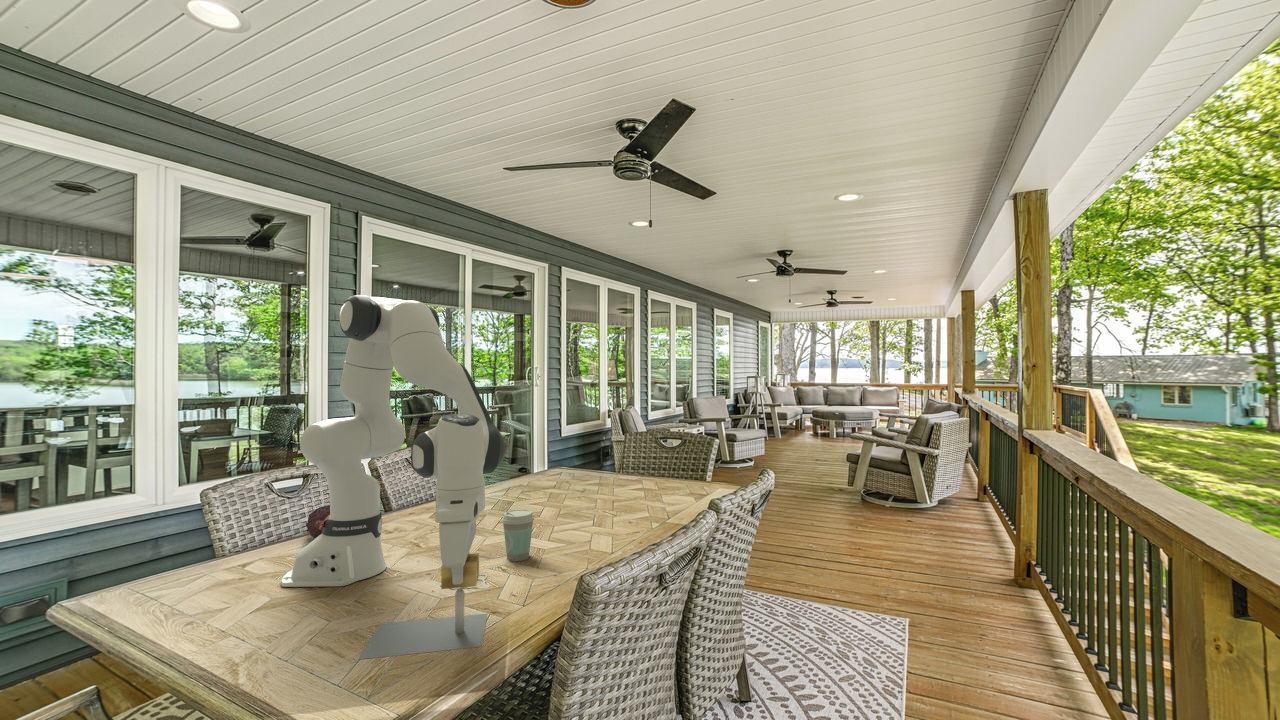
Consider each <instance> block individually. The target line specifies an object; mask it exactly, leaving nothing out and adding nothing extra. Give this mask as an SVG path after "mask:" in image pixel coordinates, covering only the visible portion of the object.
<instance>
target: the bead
mask: <svg viewBox="0 0 1280 720" xmlns="http://www.w3.org/2000/svg"><path fill="white" fill-rule="evenodd" d="M463 571H464V580H463V583H462V584H456V585H454V584H453V583H452V571H451V568H444V567H443V565H442V564H441V570H440V573H441V575H440V576H441V581H440V582H441V584H440V585H441V587H440V590H446V589H447V590H448V589H449V590H451V589H450V588H461V587H476V586H477V584H478V581H479V580H478V578H479V577H480V576H479V574H480V553H477V552H475V553H469V554H468V556H467V559H466V562H465V565H464V567H463Z"/></svg>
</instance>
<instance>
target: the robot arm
mask: <svg viewBox="0 0 1280 720" xmlns="http://www.w3.org/2000/svg"><path fill="white" fill-rule="evenodd" d="M339 327H340V329H341V332H342V333H343V334H344V336H345V337H347V338H349V342H348V345H347V349H346V352H345V355H344V356H345V357H344V363H343V367H342V374H341V378H340V379H341V380H340V384H339V385H340V386H339V390H340V393H341V395H342V396H343V397H344V399H346V400H347V401H348V402H350V403H351V404H353V405H354V410H355V411H354V416H351V417H339V418H330V419H329V418H328V419H325V420H321V421H318V422H316V423H312V424H310V425H308V426H307V427H306V428H305V429H304V431H303V432H302V434H301V437H300V441H299V442H300V444H299V447H300V452H301V454H302V455H303V458H305V459H306V460H307V461H308V463H311V464H312V465H314V466H316V467H317V468H318V469H319V470H320V472H321V473H322V474H323V476H324V478H325V480H326V482H327V485H328V490H329V505H330V515H329V516H328V517H326V518H325V520H324V521H323V522H322V523H321V524H320V525H319V526H320V528H319V529H322V534H321V535H319V536H318V537H317V538H315V539H314V538H313V540H312V541H310V542H309V543H307V545H305V546H304V547H303V548H302V549H300V550H299V552H298V553H297V554H296V556H295V559H294V561H293V565H292V566H293V567H292V569H290V570H289V571H288V572H287V573H285V574H284V575H283V577H282V578H281V581H280V586H281V587H283V588H288V587H289V588H291V587H292V588H298V587H303V588H305V587H308V588H309V587H345V586H348V585H350V584H353V583H356V582H358V581H362V580H365V579H369V578H372V577H374V576H376V575H379V574H380V573H383V572H384V571H385V570H386V569H387V562H386V560H385V556H384V553H383V548H382V547H383V546H382V545H383V544H382V540H381V539H382V538H381V535H382V532H383V518H382V512H381V511H380V510H381V508H380V507H381V485H380V482H379V481H378V479H376V478H375V477H374V476H372V475H370V474H368V473H366V472H365V470H364V469H363V466H362V460H366V459H368V460H369V459H373V458H379V457H384V456H386V455H389V454H391V453H394V452H397V451H398V450H399V449H401V447H402V446H403V443H404V442H405V439H406V430H405V427H404V424H403V423H402V421H401V420H400V419H399V418H398V417H397V416H396V415H395V414H394V412H393V410H392V406H391V402H390V391H391V384H392V377H393V370H394V369H395V371H396V373H397V374H398V375H399V376H400V378H402V379H403V380H404V381H406V382H408V383H410V384H413V385H415V386H417V387H418V386H419V387H421V388H426V389H429V390H433V391H436V392H438V393H441V394H443V395H444V396H445V395H446V396H447V397H449V398H450V399H452V400H453V401H454V402H455V404H456V406H457V409H458V411H459V412H460V413H450V414H446V415H443V416H441V417H440V418H439V419H438V422H437V425H436V426H435V427H434V428H432V429H429V430H427V431H425V432H424V431H423V432H421V433H420V434H419V435H417V437H416V438H415V439H414V441H413V442H412V444H411V447H410V448H411V449H410V454H411V455H410V463H411V468H412V470H413V471H414V472H415V473H416V474H418V475H419V476H420V477H422V478H423V479H431V480H432V479H436V484H435V512H434V513H435V514H434V515H435V516H434V518H435V519H434V520H435V524H436V523H437V524H439V526H438V535H439V550H440V551H439V552H440V558H441V559H440V560H441V566H442V565H443V567H444V568H451V571H452V583H453V584H454V585H456V584H462V583H463V580H464V571H463V567H464V565H465V562H466V559H467V556H468V554H470V550H471V548H472V544H473V542H474V539H475V537H476V532H477V520H478V518H479V513H481V512H482V511H484V510H485V509H486V480H485V477H484V474H492V473H494V471H496V470H497V468H498V467H499V466H500V464H501V463H502V462H503V460H504V458H505V457H506V449H507V448H506V442H505V439H504V437H503V435H502V434H501V431H500V430H499V429H498V427H497V426H496V424H495V423H494V422H493V420H492V418H491V416H490V414H489V412H488V410H487V408H486V405H485V404H484V403H485V402H484V401H483V399H482V397H481V394H480V393H479V390H478V388H477V386H476V384H475V381H474V380H473V378H472V376H471V374H470V372H469V371H468V369H467V368H466V366H464V365H463V364H462V363H460V362H458V361H457V360H456V359H455V358H454V357H453V356H452V354H451V353H450V352H449V350H448V349H447V347H446V345H445V343H444V339H443V336H442V333H441V329H440V327H441V325H440V317H439V315H438V312H437V311H436V309H434V308H433V307H431V306H430V305H427V304H425V303H423V302H421V301H418V300H405V299H400V298H391V297H389V298H388V297H380V296H369V295H367V294H357V295H351V296H349V297H348V298H347V299H345V301H344V302H343V304H342V305H341V308H340V312H339Z"/></svg>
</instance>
